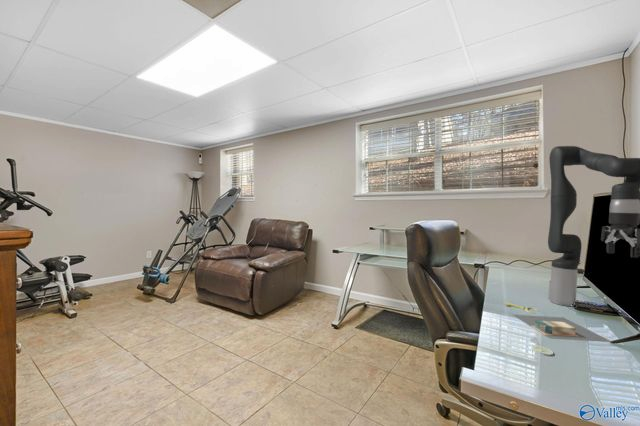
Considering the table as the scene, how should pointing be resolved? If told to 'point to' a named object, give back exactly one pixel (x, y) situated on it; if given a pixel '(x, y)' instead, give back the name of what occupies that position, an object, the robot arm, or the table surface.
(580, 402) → the table surface
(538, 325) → the tile
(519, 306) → the key
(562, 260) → the robot arm
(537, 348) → the sign
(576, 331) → the mat
